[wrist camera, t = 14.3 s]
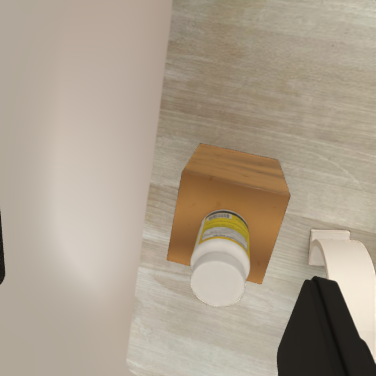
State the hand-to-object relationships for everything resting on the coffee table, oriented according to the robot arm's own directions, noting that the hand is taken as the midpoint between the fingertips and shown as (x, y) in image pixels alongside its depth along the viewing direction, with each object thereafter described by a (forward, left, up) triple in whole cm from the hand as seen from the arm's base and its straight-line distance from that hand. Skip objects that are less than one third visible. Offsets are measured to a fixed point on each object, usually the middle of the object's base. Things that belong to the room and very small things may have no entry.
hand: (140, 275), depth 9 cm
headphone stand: (+2, +21, -32) cm, 38 cm away
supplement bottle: (+6, +7, -20) cm, 22 cm away
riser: (+6, +7, -32) cm, 33 cm away
